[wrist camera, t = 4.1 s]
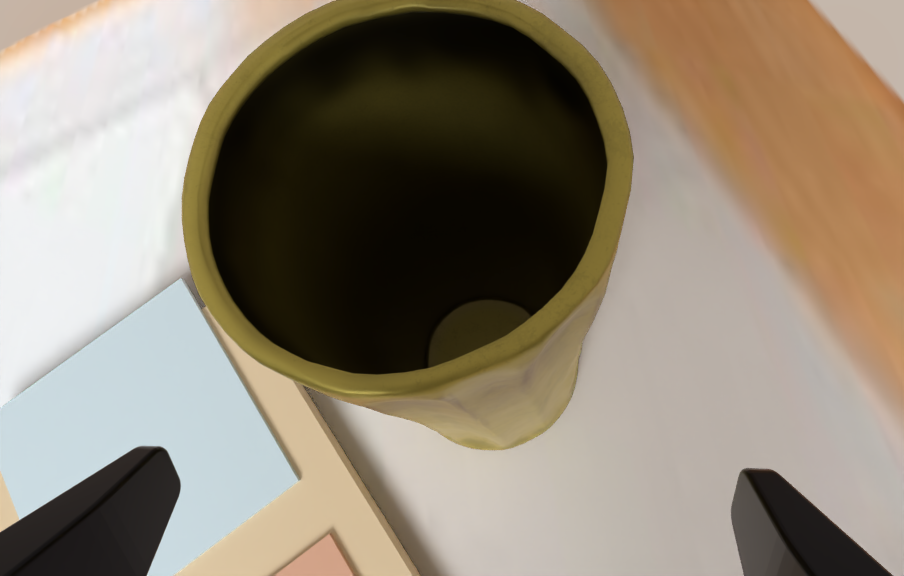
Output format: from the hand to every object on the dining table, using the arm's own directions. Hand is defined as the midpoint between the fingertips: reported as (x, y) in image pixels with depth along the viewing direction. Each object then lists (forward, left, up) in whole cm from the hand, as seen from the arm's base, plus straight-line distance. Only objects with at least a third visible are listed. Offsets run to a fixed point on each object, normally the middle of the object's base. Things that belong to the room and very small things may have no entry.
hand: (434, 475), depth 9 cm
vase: (+3, -2, -11) cm, 11 cm away
